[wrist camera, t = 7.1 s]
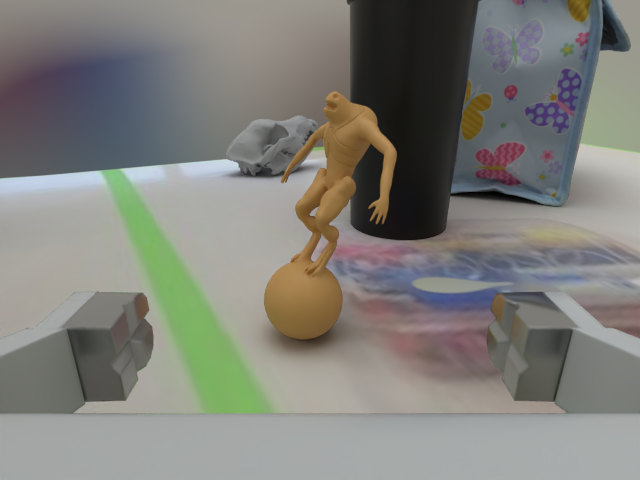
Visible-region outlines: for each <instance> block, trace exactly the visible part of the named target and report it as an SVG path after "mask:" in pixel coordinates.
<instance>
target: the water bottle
mask: <svg viewBox="0 0 640 480" xmlns="http://www.w3.org/2000/svg"><path fill="white" fill-rule="evenodd" d="M480 1H481V0H347V3H348V4H349V5H350V102H351V103H355V104H359V105H362V106H366V107H368V108H370V109H371V110H372V111H373V112H374V113H375V115H376V117H377V126H378V128H379V130H380V132H381V133H382V134H383V135H384V136H385V137H386V138H387V139H388V140H389V141H390V142H391V144H392V145H393V146H394V148H395V150H396V152H397V158H396V163H395V166H394V171H393V178H392V184H391V188H390V191H389V205H388V211H387V215H386V218H385V221H384V223H383V224H382V220H383V215H382V216H381V218H380V220H379V222H378V224H376V221H377V218H378V214H376V215H375V217H374V218H373V219H372V221H370V219H371V217H372V215H373V213H374V211H375V209H376V207H375V206H373V207H372V208H370V209H368V208H369V206H370V205H371V204H372V203H373V202H375V201H377V200H379V198H380V181H381V175H382V171H383V161H384V154H383V153H381V152H380V151H379V150H378V149H376V148H375V147H374V146H373V145H372V144H370V146H369V147H368V149H367V151H366V152H365V154H364V155H363V157H362V158H361V160H360V161H359V162H358V164H357V165H356V167H355V170H354V173H353V175H352V177H351V178H352V179H353V180H354V182H355V184H356V191H355V193H354V195H353V196H352V197H351V224H352V225H353V227H355V228H356V229H357V230H359V231H361V232H364V233H366V234H369V235H373V236H377V237H382V238H389V239H405V240H406V239H422V238H428V237H432V236H435V235H438V234H440V233H441V232H443V231H444V230H445V228H446V222H447V215H448V208H449V201H450V194H451V188H452V181H453V174H454V167H455V160H456V157H457V151H458V144H459V137H460V134H459V133H460V130H461V124H462V120H461V119H462V117H463V110H464V108H463V107H464V103H465V100H464V99H465V97H466V90H467V83H468V74H469V73H468V72H469V65H470V58H471V51H472V44H473V37H474V31H475V24H476V17H477V10H478V3H479V2H480Z"/></svg>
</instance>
